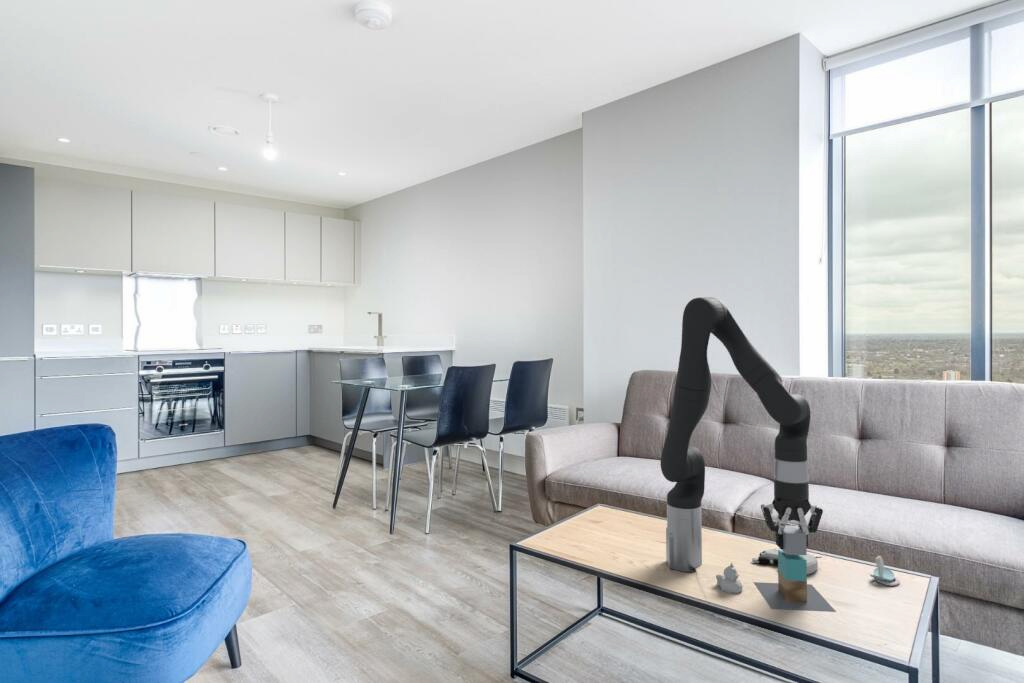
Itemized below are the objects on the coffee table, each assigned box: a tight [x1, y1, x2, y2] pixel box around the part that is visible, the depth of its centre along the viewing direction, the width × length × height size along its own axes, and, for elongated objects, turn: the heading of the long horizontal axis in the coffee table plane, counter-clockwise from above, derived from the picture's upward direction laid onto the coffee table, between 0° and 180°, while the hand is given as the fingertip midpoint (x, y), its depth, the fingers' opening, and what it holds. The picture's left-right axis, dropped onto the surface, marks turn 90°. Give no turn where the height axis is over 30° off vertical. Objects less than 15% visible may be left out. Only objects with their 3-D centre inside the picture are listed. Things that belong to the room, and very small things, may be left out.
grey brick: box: [781, 524, 808, 555], centre depth 135 cm, size 4×6×5 cm
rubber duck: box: [715, 562, 743, 594], centre depth 140 cm, size 5×7×8 cm
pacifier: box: [870, 555, 900, 587], centre depth 146 cm, size 7×6×6 cm
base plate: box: [753, 581, 837, 613], centre depth 136 cm, size 14×14×1 cm
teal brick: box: [777, 549, 808, 582], centre depth 136 cm, size 4×6×5 cm
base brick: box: [777, 569, 808, 602], centre depth 136 cm, size 4×6×5 cm
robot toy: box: [751, 548, 823, 576], centre depth 154 cm, size 12×4×15 cm
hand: (791, 548), depth 136 cm, fingers closed on grey brick, 4 cm apart
